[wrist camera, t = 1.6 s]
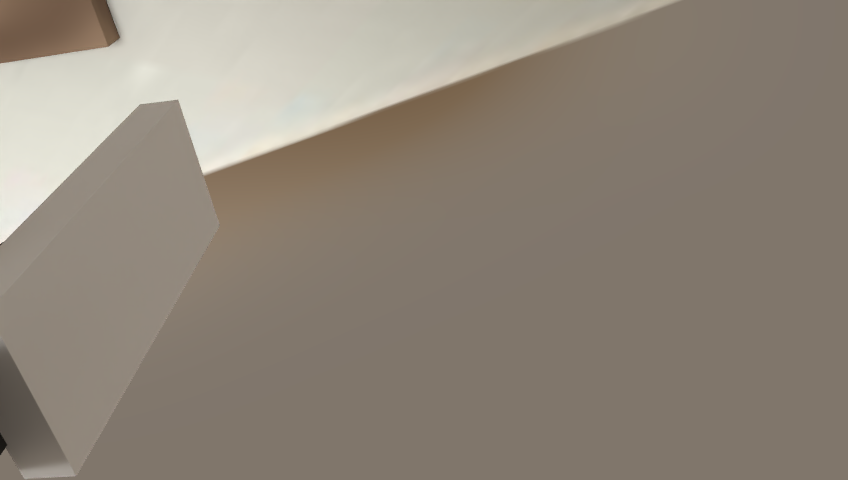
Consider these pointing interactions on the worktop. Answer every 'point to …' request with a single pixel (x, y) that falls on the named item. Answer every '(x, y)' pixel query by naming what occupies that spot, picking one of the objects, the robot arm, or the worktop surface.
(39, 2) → the wooden board with post
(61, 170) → the worktop surface
